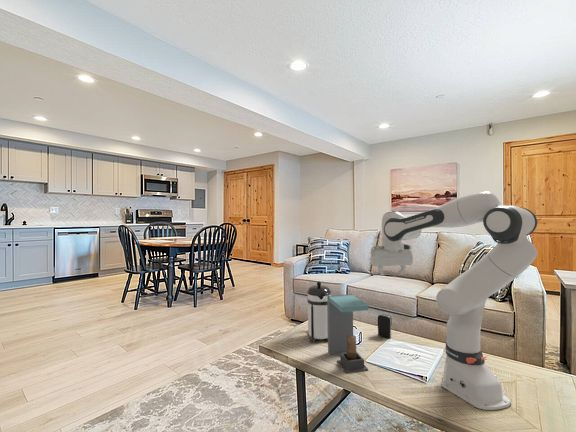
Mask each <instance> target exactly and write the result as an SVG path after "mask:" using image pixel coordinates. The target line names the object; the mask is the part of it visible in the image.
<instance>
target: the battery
mask: <svg viewBox="0 0 576 432" xmlns="http://www.w3.org/2000/svg"><path fill="white" fill-rule="evenodd" d="M392 323H393V321H392V316H391V315H390V314H389V315H388V314H384V313H380V314H378V315H377V336H379V337H382V338H387V339H391V338H392V325H393V324H392Z"/></svg>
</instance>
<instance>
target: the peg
mask: <svg viewBox="0 0 576 432" xmlns="http://www.w3.org/2000/svg"><path fill="white" fill-rule="evenodd" d="M346 337H347V360H348V361H349V360H357V353H358V351H357V336H356V335H354V334H353V335H347V336H346Z"/></svg>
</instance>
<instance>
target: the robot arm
mask: <svg viewBox="0 0 576 432" xmlns="http://www.w3.org/2000/svg"><path fill="white" fill-rule="evenodd" d="M477 223H478V224H479V223H483V227H484V228H485V230H486V232H487V233H488V234H489V236H490V237H491V238H492V240H493V241H494V243H497V244H496V245H495V246H494V247H493V248H492V249H491V250H489V251H488V252H487V253H486V254H485V255H484V256H483V257H482V258H481V259H479V260H478V261H477V262H476V263H475V264H473V265H472V266H471V267H470V268H468V269H467V270H466V271H463V272H462V273H461V274H459V275H458V276H456V277H455V278H453V280H452V281H450V282H449V283H448V284H446V285H445V286H444V287H442V288H441V289H439V291H438V292H437V294H436V297H435V300H436V304H437V307H438V308H439V309H440V310H441V311H442V312H443V313H445V314H447V315H450V316H449V318H448V320H447V322H446V343H445V347H444V348H445V354H446V358H445V361H444V366H443V367H444V368H443V374H442V381H441V384H440V386H441V387H442V388H444V389H445V390H447V391H449V392H450V393H452V394H454V395H455V396H457V397H459V398H460V399H461V400H463V401H465V402H467V403H468V404H470V405H471V406H473V407H475V408H477V409H480V410H484V411H485V410H486V411H495V410H502V409H506V408H508V407H510V405H511V404H512V401H511V399H510V398H509V397H508V396H507V395H505V394H504V393H503V388H502V387H503V386H502V384H501V381H500V380H499V379H498V376H497V375H496V374H494V373H493V372H492V369H490V368H489V366H488V365H487V364H486V361H485V360H488V356H485V355H484V354H483V351H482V348H481V327H482V321H483V317H484V312H485V307H486V303H487V300H488V298H489V297H491V296H493V295H494V294H496V293H497V292H500V290H501V289H503V288H504V287H505V286H507V285H509V284H510V283H511V282H512V281H514V280H515V279H516V278H517V277H519V275H521V274H522V273H524V271H526V270H527V269H528V268H529V266H531V265H532V263H533V262H534V261H535V260H536V259H537V256H538V249H537V247H536V246H535V245H534V243H532V242H531V241H530V240H529V238H528V236H529V235H531V234H532V233H534V231H535V230H536V229H537V227H538V218H537V216H536V215H535V214H534V213H533V211H531V210H530V209H528V208H525V207H522V206H516V205H509V204H507V205H503V204H501V201H500V199H499V198H498V197H497V195H495V193H493V192H490V191H480V192H475V193H471V194H468V195H467V194H466V195H463V196H461V197H458V198H455V199H453V200H450V201H448V202H445V203H443V204H441V205H438V206H437V207H434V208H432V209H429V210H427V211H424V212H421V213H417V214H413V215H410V216H406V215H403V214H402V213H400V211H388V212H385V213H384V214H383V215H382V217H381V233H382V235H381V236H382V237H381V245H378V246H377V245H375V246H372V248H371V249H370V265H371V266H373V267H377V268H378V270H379V273H380V276H381V277H382V276H386V271H384V270H383V268H384V267H389V266H390V267H391V266H400V269H399V270H398V275H399V276H404V271H405V269H406V266H412V265H413V264H414V257H413V252H412V245H410V244H407V243H404V242H402V241H407V240H409V241H410V240H411V241H412V240H415V239H417V238H419V237H420V236H421V233H422V230H425V229H430V228H447V229H449V228H451V229H452V228H453V229H454V228H463V227H468V226H472V225H474V224H477Z"/></svg>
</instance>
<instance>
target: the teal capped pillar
mask: <svg viewBox="0 0 576 432" xmlns="http://www.w3.org/2000/svg"><path fill="white" fill-rule="evenodd" d="M327 305H328V340H327V353H328V354H329V355H336V354H337V355H338V354H340V353H347V337H346V336H347V335H354V312H363V311H369V309H370V308H369V304H367V303H366V302H364V301H363V300H361V299H359V298H358V297H356V296H354V295H353V294H352V293H350V294H336V295H335V294H333V295H331V296H327Z"/></svg>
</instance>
